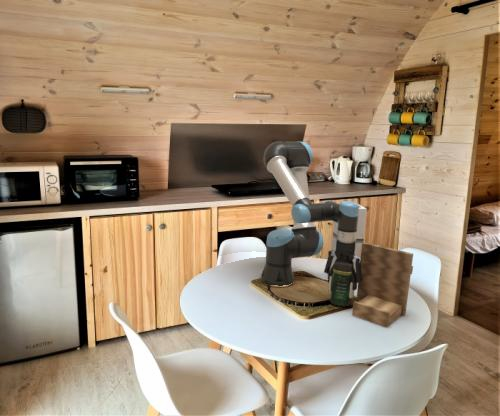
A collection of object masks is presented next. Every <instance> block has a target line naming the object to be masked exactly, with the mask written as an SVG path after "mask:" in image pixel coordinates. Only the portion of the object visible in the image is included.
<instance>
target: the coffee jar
mask: <svg viewBox="0 0 500 416" xmlns="http://www.w3.org/2000/svg"><path fill="white" fill-rule="evenodd" d="M353 267H354V262H353V264H351V262H350V263H349V264H348V263H347V262H345V261H344V260H340V261H336V262H334V269H333V280H332V290H331V291H330V300H331V301H330V303H331V304H332V305H334V306H336V305H338V306H337V307H340V306H341V307H348V306H349V304H350V302H351V298H349V294H350V283H351V282H352V278H351V275H352V271H353Z"/></svg>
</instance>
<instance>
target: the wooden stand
mask: <svg viewBox="0 0 500 416" xmlns="http://www.w3.org/2000/svg"><path fill="white" fill-rule="evenodd" d="M360 257H361V258H362V260H361V271H362V281H361V282H359V283H357V289H356V291H357V292H356V300H357V299H358V300H360V301H356V300H354V301H353V303H352V311H351V312H352V313H351V314H352V316H354V317H355V318H356V317H357V318H358V319H359V318H360V319H362V320H366V321H368V322H371V323H373V324H376V325H379V326H383V327H386V328H388V327H390V326H391V324H393V323H394V322H395V321H396V320H397V319H399V318H400V317H401V316H402V315H403V317H404V316H405V315H406V313H407V305H408V298H409V290H410V283H411V275H412V274H413V270H414V266H413V261H414V260H413V258H414V253H413V252H412V253H411V252H408V251H403V250H399V249H397V248H396V249H395V248H391V247H386V246H383V245H378V244H374V243H370V242H365V241H364V242H363V243H362V246H361V250H360ZM399 316H400V317H399Z"/></svg>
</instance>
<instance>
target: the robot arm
mask: <svg viewBox="0 0 500 416" xmlns="http://www.w3.org/2000/svg"><path fill="white" fill-rule="evenodd" d="M313 157H314V155H313V150H312V148H311V146H310V145H309V144H308V143H306V142H305V141H299V140H298V141H282V140H280V141H274V142H272V143H270V144H269V145H268V146H267V147H266V148H265V150H264V153H263V163H264V166H265V168H266V170H267V171H268V172H269V173H271V174H272V175H273V177H274V179H275V181H276V182H277V184H278V185H279V187H280V188H281V190H282V192H283V194H284V195H285V197H286V199H287V200H288V202H289V203H290V205H291V210H290V211H291V212H290V213H291V218H292V220H293V226H292V227H291V229H286V228H284V229H281V228H280V229H274V230H272V231H270V232H269V233H268V234H267V237H266V242H265V243H266V250H265V252H266V253H265V264H264V267H263V270H262V273H261V275H260V281H262V282H263V283H262V282H261V283H262V284H264V283H265V284H267V285H266V286H268V285H278V286H283V285H289V284H291V283H293V282H294V283H295V276H294V272H293V267H292V262H293V261H292V260H293V259H299V258H306V257H314V256H317V255H318V254H320V253H321V251H322V249H323V247H324V246H323V245H324V236H323V235H322V232H321V231H320V230H318V229H317V225H315V224H314V223H317V222H321V223H322V222H333V223H334V222H336V223H338V230H337V239H338V240H337V241H336V251H333V250H332V249H331V250H329V251H328V252H327V253H328V254H327V255H328V257H327V259H326V263H325V266H324V271H323V272H324V274H326V275H327V283H328V292H331V290H332V280H333V275H332V274H333V269H334V264H333V266H332V267H331V264H332V261H333V257H334V255H336V257H337V259H336V260H335V262H336V261H340V260H344V261H345V262H347V263H348V264H349V263H350V262H351V264H353V261H352V260H353V259H354V260H355V267H356V272H355V269H354V267H353V271H352V275H351V278H352V282H351V283H350V294H349V298H350V299H352V298H353V297H355V291H357V290H358V283H359V282H361V281H362V271H361V260H362V258H361V256H360V257H356V256H355V254H354V252H355V244H356V243H355V241H356V233H357V224H358V216H359V205H360V204H359V203H358V202H354V201H345V200H344V201H340V203H337V202H335V201H332V200H324V201H323V202H316V203H312V201H311V200H310V191H309V184H308V176H307V172H308V171H309V169H310V168H309V167H310V165H312V163H313ZM358 204H359V205H358ZM330 267H331V269H330ZM265 284H264V285H265Z"/></svg>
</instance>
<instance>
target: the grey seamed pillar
mask: <svg viewBox="0 0 500 416" xmlns="http://www.w3.org/2000/svg"><path fill="white" fill-rule="evenodd" d="M357 204H358V205H359V216H358V224H357V233H356V241H355V243H356V244H355V252H354V254H355V256H356V257H361V248H362V243H364V242H365V241H364V240H365V231H366V230H365V229H366V222H367V212H368V208H367V207H364V206H363V205H361V204H359V203H357ZM332 227H333V228H332V229H333V230H332V240H331V250H333V251H336V241H337V240H338V239H337V230H338V223H336V222H334V221H333V226H332ZM336 259H337V257H336V255H334V257H333V261H332V264H331V267H332V266H333V264H334V262H335V260H336ZM352 261H353V262H354V269H355V272H356V267H355V260H354V259H353V260H352ZM331 267H330V269H331ZM332 275H333V274H332Z"/></svg>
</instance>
